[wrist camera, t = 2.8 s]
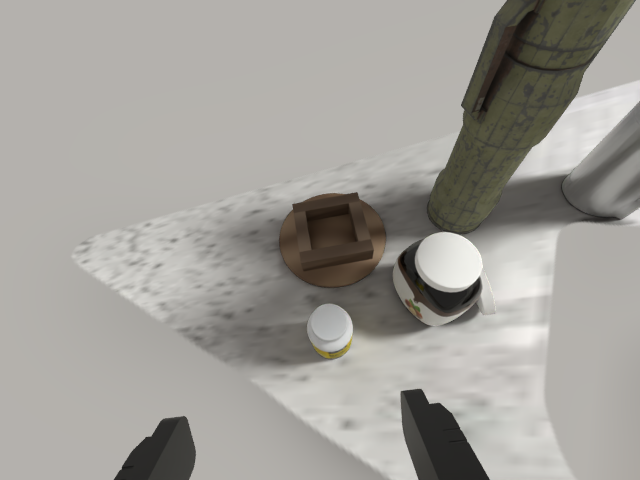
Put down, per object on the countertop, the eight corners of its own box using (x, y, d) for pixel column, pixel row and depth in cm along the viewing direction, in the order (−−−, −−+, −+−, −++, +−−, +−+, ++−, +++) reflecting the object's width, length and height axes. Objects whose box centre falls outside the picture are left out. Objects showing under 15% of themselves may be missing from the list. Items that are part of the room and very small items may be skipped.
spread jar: (381, 278, 44) (392, 240, 34) (442, 243, 46) (468, 197, 36) (436, 352, 38) (468, 333, 28) (501, 308, 40) (553, 276, 30)
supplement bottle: (331, 369, 38) (326, 359, 30) (304, 337, 41) (292, 320, 32) (360, 339, 40) (363, 321, 31) (332, 310, 42) (329, 287, 33)
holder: (398, 276, 44) (402, 265, 40) (285, 297, 44) (280, 288, 40) (370, 188, 52) (372, 173, 49) (276, 205, 52) (271, 192, 49)
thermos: (407, 205, 50) (502, -109, 19) (467, 180, 51) (643, -147, 21) (437, 247, 46) (620, -71, 15) (502, 219, 47) (787, -122, 17)
